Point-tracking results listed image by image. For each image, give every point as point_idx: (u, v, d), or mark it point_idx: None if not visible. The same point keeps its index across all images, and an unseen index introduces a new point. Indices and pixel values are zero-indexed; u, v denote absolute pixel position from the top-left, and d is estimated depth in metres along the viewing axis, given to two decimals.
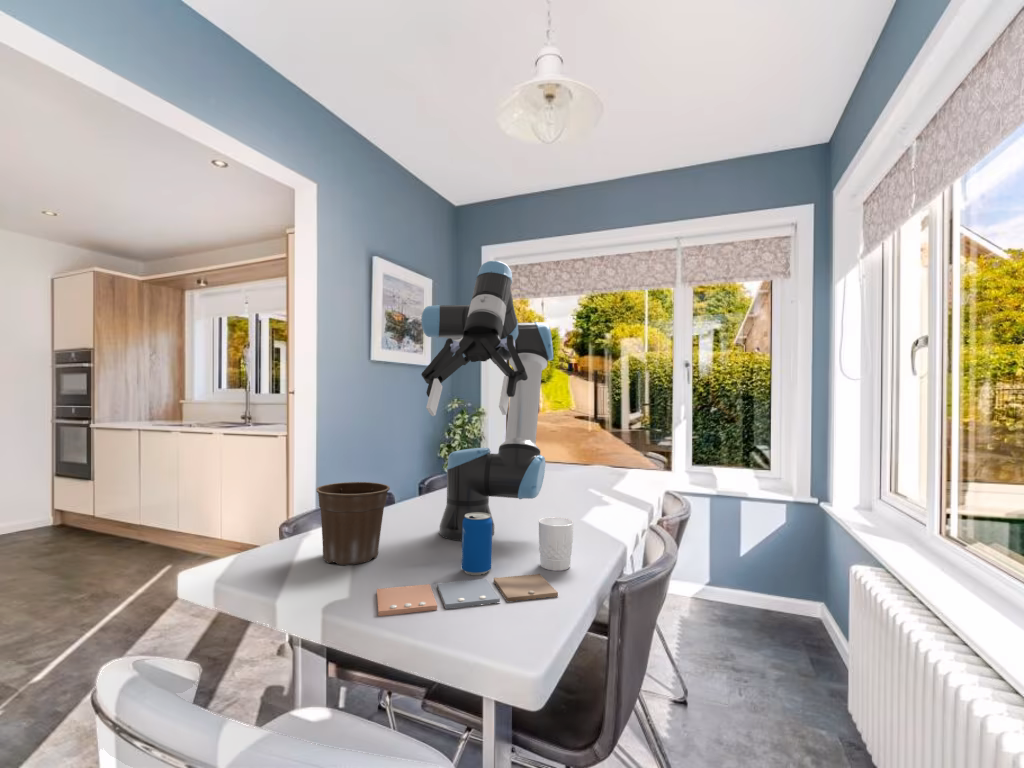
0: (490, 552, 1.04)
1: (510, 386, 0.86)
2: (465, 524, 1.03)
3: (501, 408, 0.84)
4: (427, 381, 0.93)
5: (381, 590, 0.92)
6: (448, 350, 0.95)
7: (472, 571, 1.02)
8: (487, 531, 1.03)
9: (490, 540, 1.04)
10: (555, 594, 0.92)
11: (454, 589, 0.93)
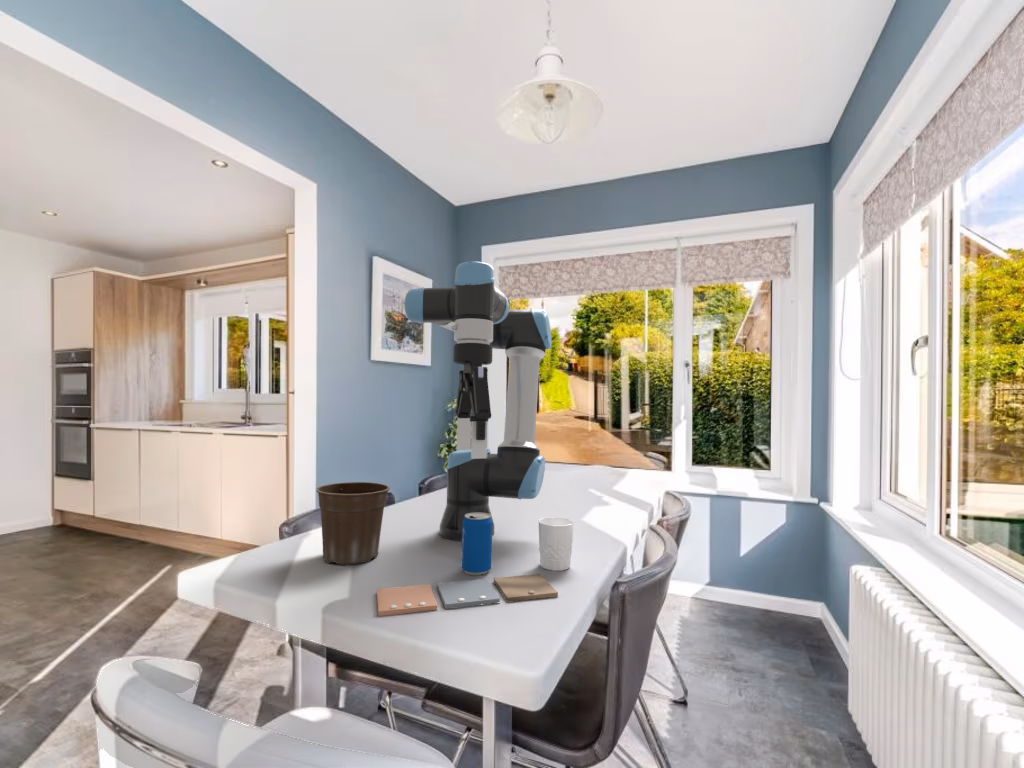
0: (490, 552, 1.04)
1: (476, 432, 0.86)
2: (465, 524, 1.03)
3: None
4: None
5: (381, 590, 0.92)
6: None
7: (472, 571, 1.02)
8: (487, 531, 1.03)
9: (490, 540, 1.04)
10: (555, 594, 0.92)
11: (454, 589, 0.93)
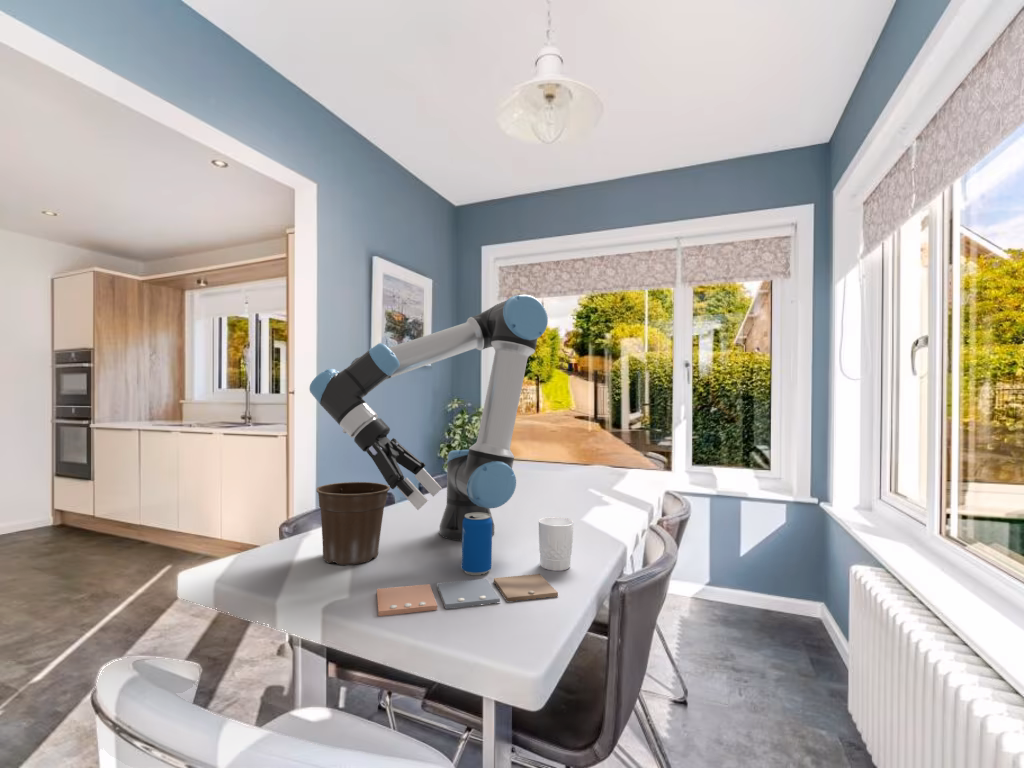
0: (490, 552, 1.04)
1: None
2: (465, 524, 1.03)
3: (420, 507, 1.00)
4: None
5: (381, 590, 0.92)
6: None
7: (472, 571, 1.02)
8: (487, 531, 1.03)
9: (490, 540, 1.04)
10: (555, 594, 0.92)
11: (454, 589, 0.93)
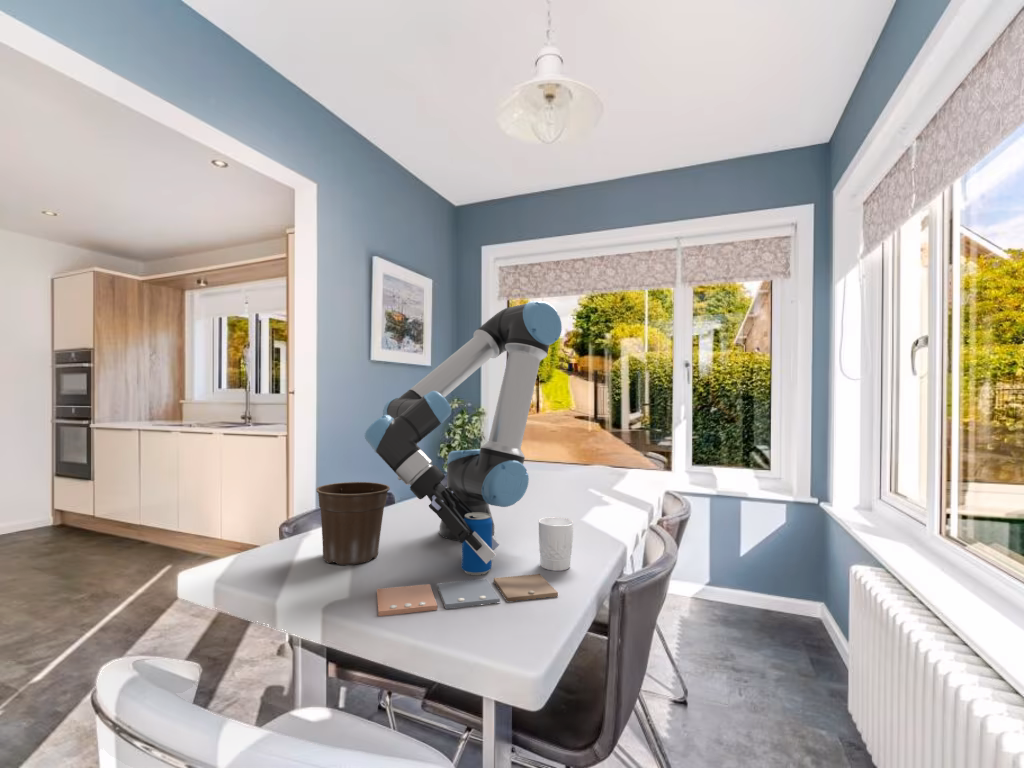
0: None
1: None
2: None
3: (488, 561, 1.01)
4: None
5: (381, 590, 0.92)
6: None
7: (472, 571, 1.02)
8: (487, 531, 1.03)
9: (490, 540, 1.04)
10: (555, 594, 0.92)
11: (454, 589, 0.93)
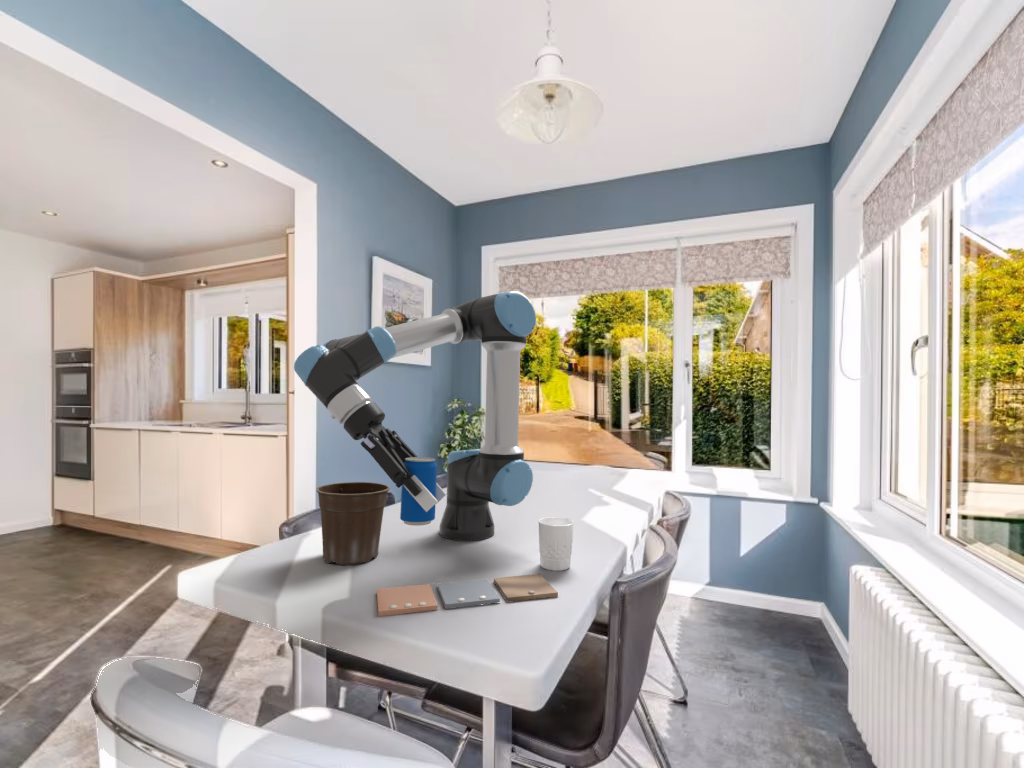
0: None
1: None
2: None
3: None
4: None
5: (381, 590, 0.92)
6: None
7: (410, 520, 0.89)
8: (429, 476, 0.90)
9: (433, 486, 0.91)
10: (555, 594, 0.92)
11: (454, 589, 0.93)
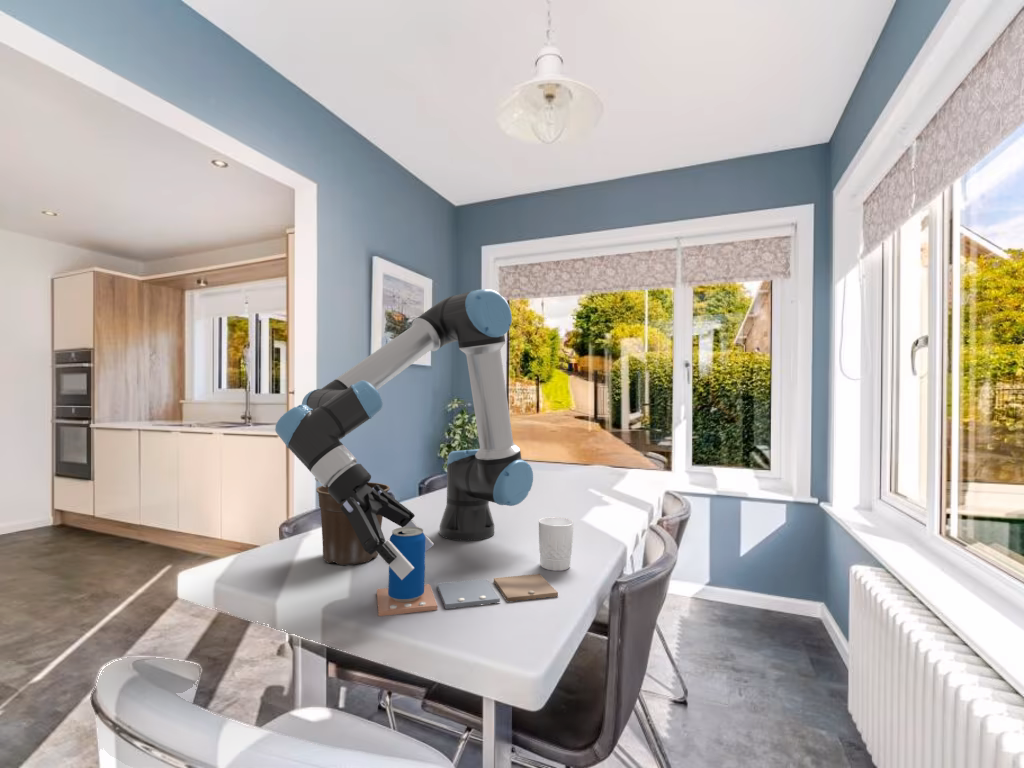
0: (422, 574, 0.88)
1: None
2: (391, 541, 0.87)
3: (405, 576, 0.82)
4: None
5: (381, 590, 0.92)
6: None
7: (399, 597, 0.86)
8: (417, 550, 0.87)
9: (422, 560, 0.88)
10: (555, 594, 0.92)
11: (454, 589, 0.93)
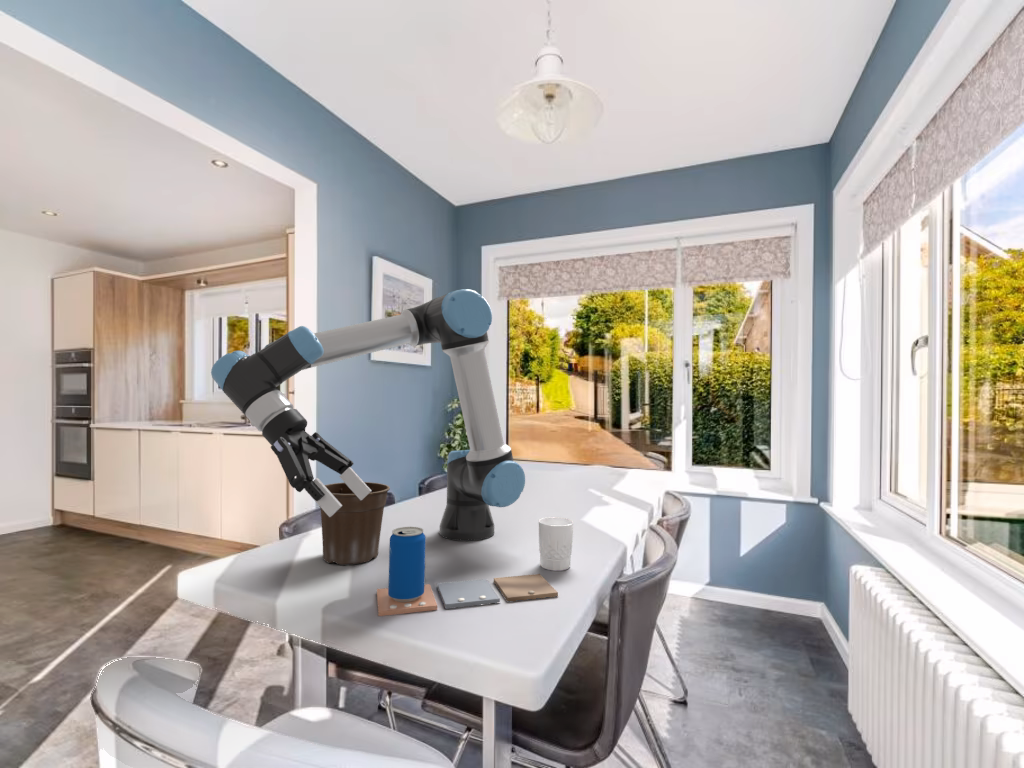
0: (422, 574, 0.88)
1: None
2: (391, 541, 0.87)
3: None
4: None
5: (381, 590, 0.92)
6: (316, 449, 0.97)
7: (399, 597, 0.86)
8: (417, 550, 0.87)
9: (422, 560, 0.88)
10: (555, 594, 0.92)
11: (454, 589, 0.93)
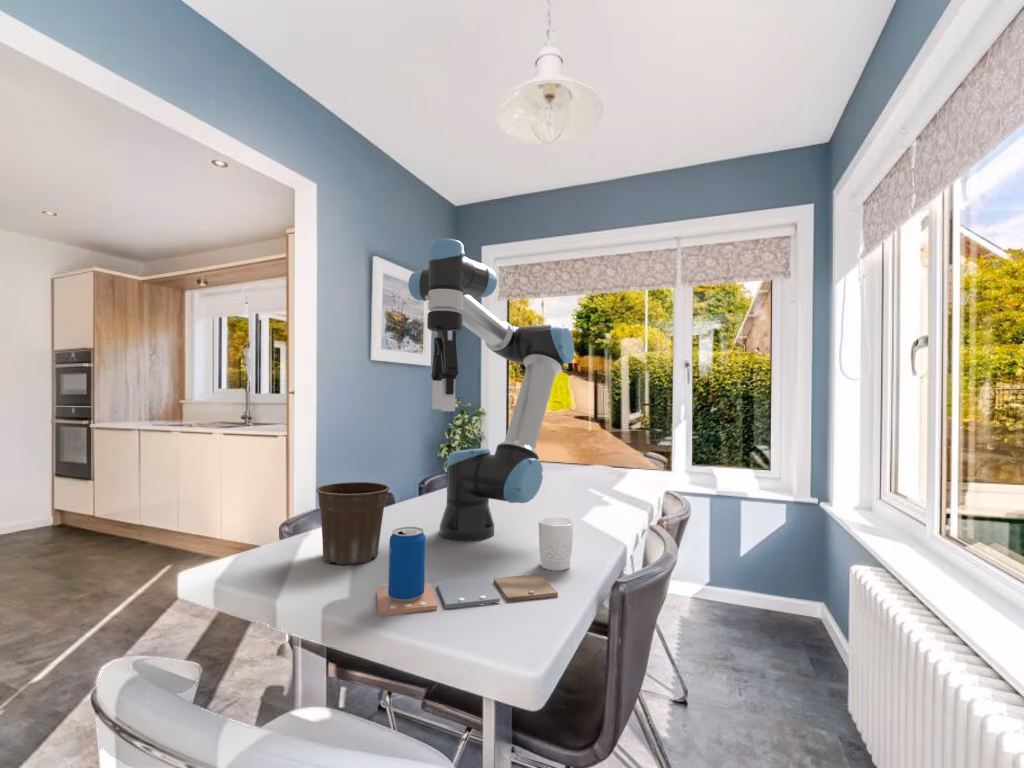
0: (422, 574, 0.88)
1: (446, 388, 0.97)
2: (391, 541, 0.87)
3: None
4: None
5: (381, 590, 0.92)
6: None
7: (399, 597, 0.86)
8: (417, 550, 0.87)
9: (422, 560, 0.88)
10: (555, 594, 0.92)
11: (454, 589, 0.93)
